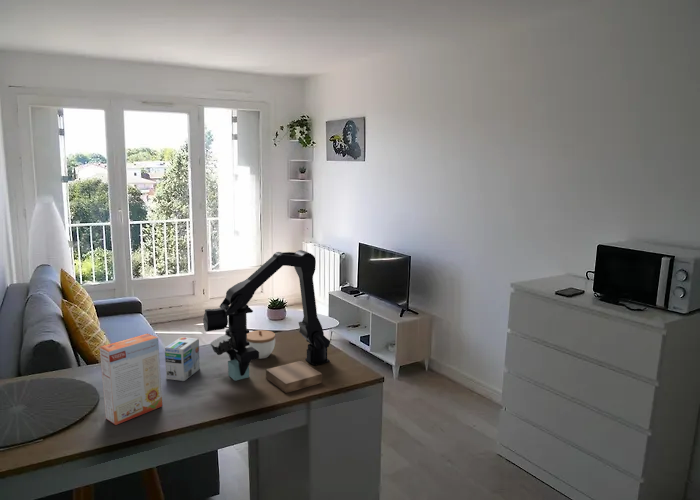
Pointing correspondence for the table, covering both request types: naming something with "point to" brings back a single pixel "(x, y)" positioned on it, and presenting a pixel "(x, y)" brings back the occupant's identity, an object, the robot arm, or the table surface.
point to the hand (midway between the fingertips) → (238, 372)
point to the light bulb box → (182, 358)
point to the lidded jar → (261, 342)
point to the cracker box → (131, 377)
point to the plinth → (293, 376)
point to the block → (236, 370)
